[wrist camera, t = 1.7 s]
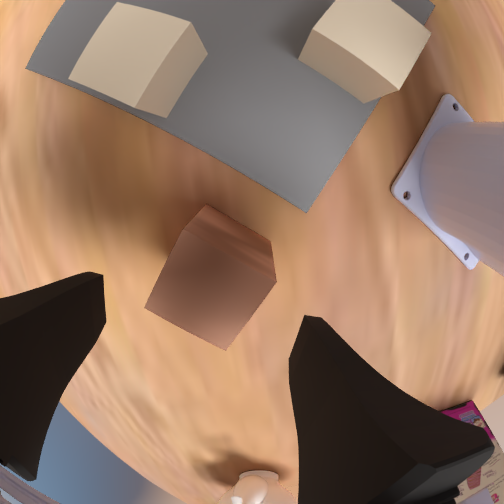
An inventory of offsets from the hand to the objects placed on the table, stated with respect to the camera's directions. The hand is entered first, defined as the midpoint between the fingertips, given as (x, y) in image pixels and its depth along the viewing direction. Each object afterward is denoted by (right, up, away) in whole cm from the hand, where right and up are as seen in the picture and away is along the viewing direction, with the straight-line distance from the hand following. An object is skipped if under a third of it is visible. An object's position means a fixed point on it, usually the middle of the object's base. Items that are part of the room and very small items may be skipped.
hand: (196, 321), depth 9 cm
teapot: (+3, -24, +16) cm, 29 cm away
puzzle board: (0, +17, +1) cm, 17 cm away
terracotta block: (0, +2, +6) cm, 7 cm away
